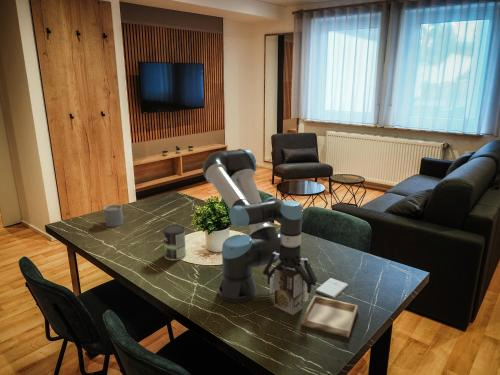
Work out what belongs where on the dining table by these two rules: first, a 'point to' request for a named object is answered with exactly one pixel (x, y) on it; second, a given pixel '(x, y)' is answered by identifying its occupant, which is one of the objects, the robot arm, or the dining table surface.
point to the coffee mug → (113, 215)
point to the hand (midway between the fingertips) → (288, 295)
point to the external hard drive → (331, 288)
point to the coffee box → (288, 290)
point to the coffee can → (174, 242)
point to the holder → (330, 316)
